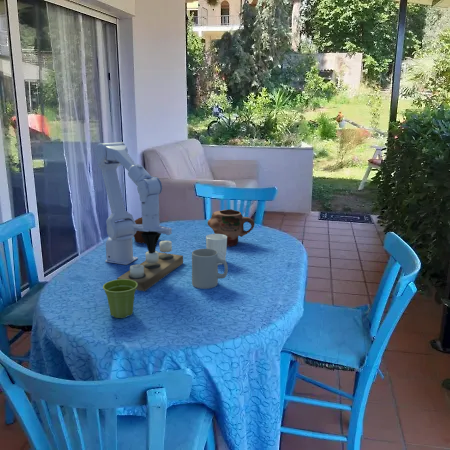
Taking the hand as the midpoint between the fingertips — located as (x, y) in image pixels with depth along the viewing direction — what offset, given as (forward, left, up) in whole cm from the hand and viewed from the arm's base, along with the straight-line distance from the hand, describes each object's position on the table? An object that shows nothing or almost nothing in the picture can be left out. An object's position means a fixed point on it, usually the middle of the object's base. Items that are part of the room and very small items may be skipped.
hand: (152, 252), depth 155 cm
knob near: (0, -10, -5) cm, 11 cm away
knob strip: (0, 0, -8) cm, 8 cm away
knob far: (0, +10, -2) cm, 10 cm away
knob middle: (0, 0, -3) cm, 3 cm away
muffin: (-23, +34, -8) cm, 42 cm away
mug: (+22, -1, -8) cm, 23 cm away
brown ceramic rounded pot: (+13, +44, -8) cm, 47 cm away
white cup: (+16, +20, -8) cm, 27 cm away
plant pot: (+7, -30, -8) cm, 32 cm away
